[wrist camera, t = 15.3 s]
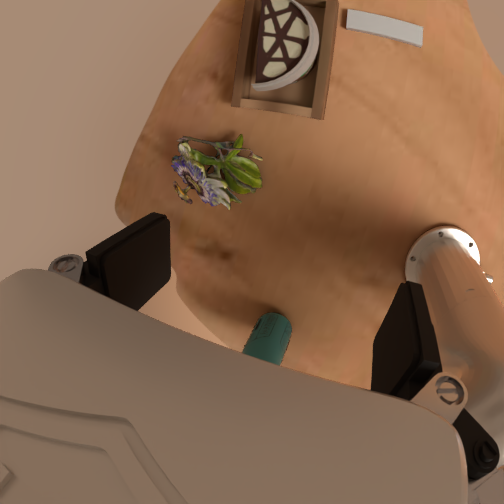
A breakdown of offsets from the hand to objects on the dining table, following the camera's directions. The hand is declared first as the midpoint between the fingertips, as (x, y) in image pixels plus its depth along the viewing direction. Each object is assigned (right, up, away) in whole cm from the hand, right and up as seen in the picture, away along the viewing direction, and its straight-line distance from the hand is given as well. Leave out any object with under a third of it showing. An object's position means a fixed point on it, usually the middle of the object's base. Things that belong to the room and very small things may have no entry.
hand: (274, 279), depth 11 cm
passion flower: (-5, +14, +31) cm, 34 cm away
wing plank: (+16, +30, +15) cm, 37 cm away
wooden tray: (+4, +27, +21) cm, 34 cm away
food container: (+6, +26, +20) cm, 33 cm away
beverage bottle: (+4, -11, +40) cm, 42 cm away
